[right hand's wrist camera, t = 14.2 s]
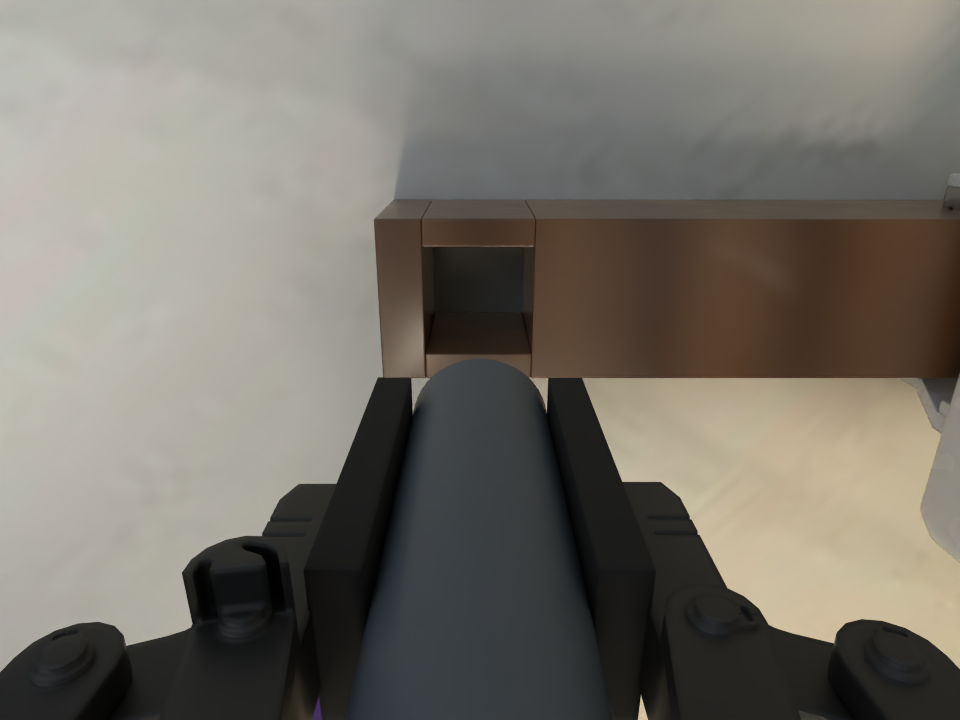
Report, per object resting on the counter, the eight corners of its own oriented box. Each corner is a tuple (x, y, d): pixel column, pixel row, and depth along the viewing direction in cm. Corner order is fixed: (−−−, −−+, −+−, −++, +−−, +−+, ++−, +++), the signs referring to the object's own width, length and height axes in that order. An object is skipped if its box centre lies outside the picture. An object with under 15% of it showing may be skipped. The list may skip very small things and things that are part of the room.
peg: (543, 476, 16) (697, 1348, 5) (416, 476, 16) (261, 1346, 5) (548, 357, 15) (768, 1132, 4) (411, 357, 15) (190, 1132, 3)
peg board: (987, 200, 30) (1105, 219, 24) (950, 332, 32) (1049, 378, 27) (393, 199, 30) (373, 218, 24) (399, 332, 32) (383, 378, 26)
